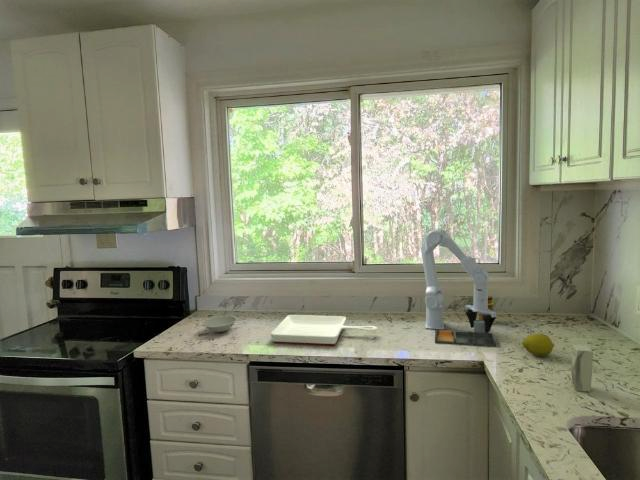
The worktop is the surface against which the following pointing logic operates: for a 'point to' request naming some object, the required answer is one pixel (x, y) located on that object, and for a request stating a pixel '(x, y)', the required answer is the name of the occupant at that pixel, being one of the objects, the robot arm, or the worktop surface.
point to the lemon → (538, 345)
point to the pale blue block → (479, 326)
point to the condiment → (490, 306)
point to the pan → (312, 330)
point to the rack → (465, 338)
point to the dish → (220, 323)
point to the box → (581, 368)
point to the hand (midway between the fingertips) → (480, 329)
